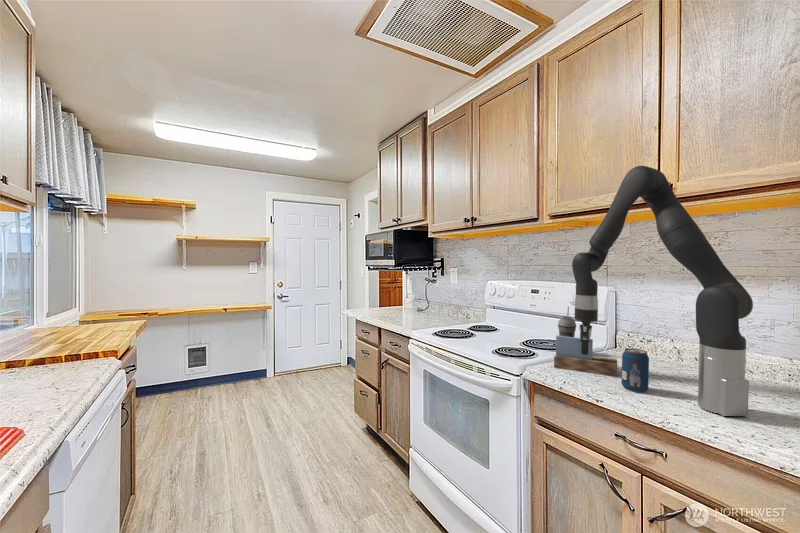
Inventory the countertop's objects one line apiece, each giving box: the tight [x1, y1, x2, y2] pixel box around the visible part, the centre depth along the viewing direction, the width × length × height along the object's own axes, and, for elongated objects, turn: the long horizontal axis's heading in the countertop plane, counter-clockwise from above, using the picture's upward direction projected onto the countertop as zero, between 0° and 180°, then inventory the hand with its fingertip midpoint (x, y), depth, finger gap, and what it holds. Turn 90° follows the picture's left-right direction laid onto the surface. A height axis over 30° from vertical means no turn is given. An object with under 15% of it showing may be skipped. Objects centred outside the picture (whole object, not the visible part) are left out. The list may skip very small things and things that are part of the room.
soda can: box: [621, 347, 650, 394], centre depth 110 cm, size 7×7×12 cm
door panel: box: [555, 335, 594, 360], centre depth 132 cm, size 12×2×10 cm, turn 60°
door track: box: [553, 354, 619, 377], centre depth 130 cm, size 20×8×4 cm, turn 60°
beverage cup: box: [557, 306, 577, 337], centre depth 153 cm, size 7×7×20 cm
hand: (585, 351), depth 130 cm, fingers open, 8 cm apart
